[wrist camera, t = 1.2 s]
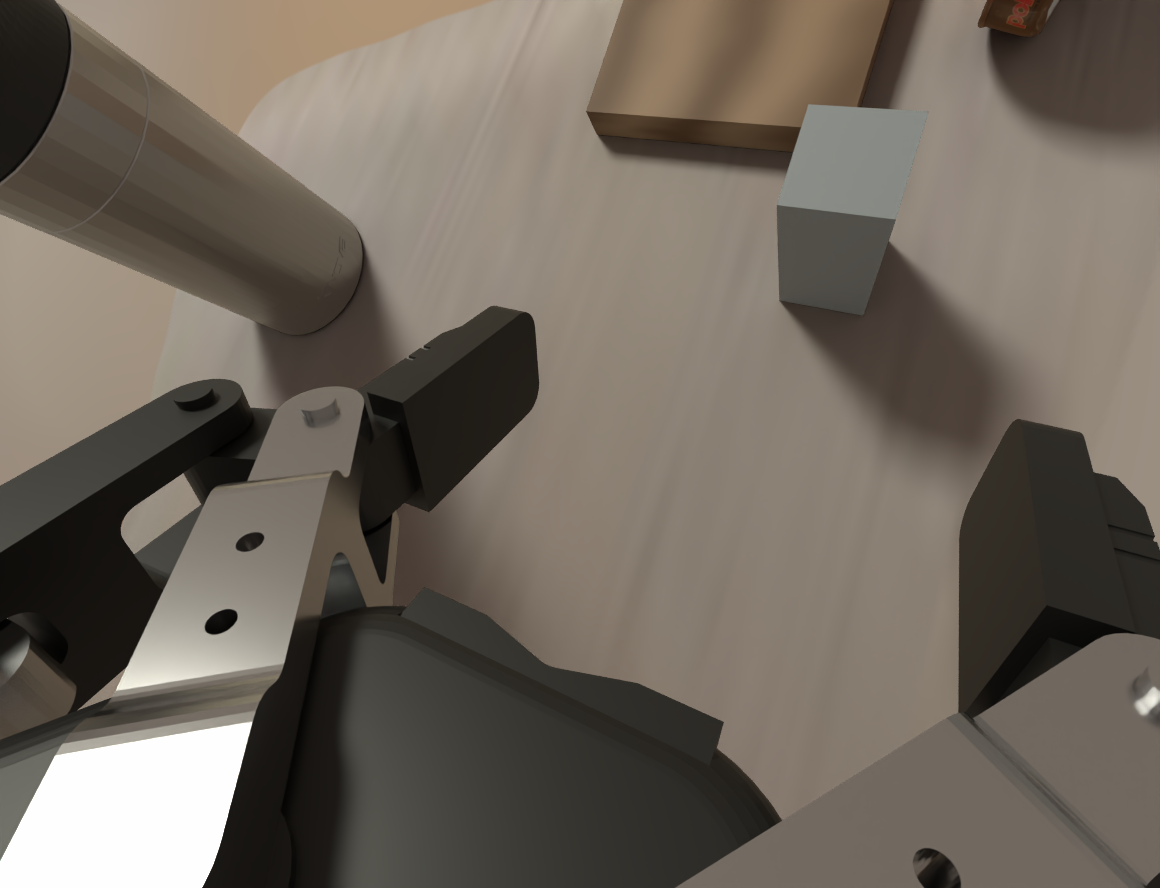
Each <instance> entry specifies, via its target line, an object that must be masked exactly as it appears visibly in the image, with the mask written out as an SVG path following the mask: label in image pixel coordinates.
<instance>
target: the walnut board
mask: <svg viewBox="0 0 1160 888" xmlns="http://www.w3.org/2000/svg"><path fill="white" fill-rule="evenodd" d="M893 1H894V0H624V1H623V4H622V7H621V10H620V13H619V16H618V19H617V21H616V24H615V27H614V30H613V33H612V36H611V39H610V42H609V45H608V48H607V51H606V54H605V57H604V60H603V63H602V66H601V69H600V72H599V75H598V78H597V81H596V84H595V87H594V90H593V93H592V96H591V99H590V102H589V105H588V108H587V111H586V112H587V114H588V116H589V118H590V121H591V123H592V125H593V127H594V129H595V131H596V134H597V135H608V136H620V137H631V138H642V139H653V140H664V141H676V142H687V143H698V144H709V145H720V146H731V147H743V148H754V149H765V150H776V151H787V152H794V149H795V145H796V142H797V139H798V136H799V133H800V130H801V126H802V123H803V120H804V117H805V114H806V111H807V107H808V104H811V105H828V106H845V107H861V104H862V101H863V98H864V95H865V92H866V88H867V85H868V82H869V79H870V75H871V72H872V69H873V66H874V62H875V59H876V56H877V53H878V50H879V46H880V43H881V40H882V37H883V33H884V30H885V27H886V24H887V21H888V17H889V14H890V11H891V8H892V4H893Z"/></svg>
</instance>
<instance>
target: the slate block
mask: <svg viewBox="0 0 1160 888" xmlns="http://www.w3.org/2000/svg"><path fill="white" fill-rule="evenodd" d="M927 115H928V111H912V110H895V109H878V108H861V107H845V106H828V105H811V104H808V107H807V111H806V114H805V117H804V120H803V123H802V126H801V130H800V133H799V136H798V139H797V142H796V145H795V149H794V152H793V155H792V158H791V161H790V165H789V168H788V171H787V174H786V177H785V180H784V184H783V187H782V190H781V193H780V196H779V199H778V203H777V232H778V267H779V301H785V302H790V303H796V304H801V305H807V306H812V307H818V308H824V309H829V310H835V311H840V312H846V313H851V314H857V315H862V316H863V315H864V312H865V309H866V306H867V304H868V301H869V298H870V295H871V292H872V289H873V286H874V283H875V280H876V277H877V274H878V271H879V268H880V265H881V262H882V259H883V256H884V253H885V250H886V247H887V244H888V241H889V238H890V235H891V232H892V230H893V227H894V224H895V221H896V217H897V214H898V211H899V208H900V204H901V201H902V198H903V194H904V191H905V188H906V184H907V181H908V178H909V175H910V171H911V168H912V165H913V161H914V158H915V155H916V151H917V148H918V145H919V142H920V138H921V135H922V132H923V128H924V125H925V122H926V118H927Z"/></svg>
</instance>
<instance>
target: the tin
mask: <svg viewBox="0 0 1160 888" xmlns="http://www.w3.org/2000/svg"><path fill="white" fill-rule="evenodd" d="M1059 1H1060V0H987V2H986V4H985V6H984V9H983V11H982V14H981V17H980V19H979V22H978V27H979V28H982V27H989V28H993V29H997V30H1000V31H1004V32H1008V33H1012V34H1015V35H1019V36H1025V37H1032V36H1035V35H1037V34H1039V33H1040V32H1041V30H1042V29H1043V27H1044V26H1045V24H1046V23H1047V21H1048V19H1049V18H1050V16H1051V14H1052V13H1053V11H1054V10H1055V8H1056V6H1057V5H1058V3H1059Z"/></svg>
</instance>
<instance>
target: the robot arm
mask: <svg viewBox="0 0 1160 888" xmlns="http://www.w3.org/2000/svg"><path fill="white" fill-rule="evenodd" d="M0 214H1V215H4V216H6V217H8V218H11V219H14V220H16V221H18V222H20V223H23V224H25V225H28V226H30V227H32V228H35V229H37V230H40V231H43V232H45V233H47V234H50V235H52V236H55V237H57V238H59V239H62V240H64V241H66V242H69V243H71V244H74V245H76V246H78V247H81V248H83V249H85V250H88V251H90V252H92V253H95V254H97V255H100V256H102V257H104V258H107V259H109V260H111V261H114V262H116V263H119V264H121V265H123V266H126V267H128V268H131V269H133V270H135V271H137V272H140V273H142V274H145V275H147V276H150V277H152V278H154V279H156V280H159V281H161V282H164V283H166V284H168V285H171V286H173V287H175V288H178V289H180V290H183V291H185V292H187V293H190V294H192V295H194V296H197V297H199V298H201V299H204V300H206V301H209V302H211V303H213V304H216V305H218V306H220V307H223V308H225V309H228V310H230V311H232V312H234V313H236V314H239V315H241V316H244V317H246V318H248V319H251V320H253V321H256V322H258V323H260V324H263V325H265V326H267V327H270V328H272V329H275V330H277V331H279V332H282V333H286V334H289V335H303V334H307V333H311V332H314V331H316V330H318V329H320V328H322V327H324V326H325V325H327V324H328V323H329V322H331V321H332V320H333V319H334V318H335V317H336V316H337V315H338V314H339V313H340V312H341V311H342V310H343V309H344V307H345V306H346V304H347V303H348V301H349V300H350V298H351V297H352V295H353V293H354V290H355V288H356V286H357V284H358V281H359V277H360V273H361V269H362V258H363V254H362V244H361V240H360V237H359V234H358V231H357V230H356V228H355V227H354V225H353V224H352V222H351V221H350V220H349V219H348V218H346V217H345V216H344V215H343V214H342V213H340V212H339V211H338V210H336V209H335V208H333V207H332V206H331V205H329V204H328V203H327V202H325V201H324V200H323V199H321V198H320V197H319V196H317V195H316V194H315V193H313V192H312V191H311V190H309V189H308V188H307V187H305V186H304V185H303V184H302V183H300V182H299V181H298V180H296V179H295V178H294V177H292V176H291V175H290V174H288V173H287V172H286V171H284V170H283V169H281V168H280V167H279V166H277V165H276V164H275V163H273V162H272V161H271V160H269V159H268V158H267V157H265V156H264V155H263V154H261V153H260V152H259V151H257V150H256V149H255V148H253V147H252V146H251V145H249V144H248V143H246V142H245V141H244V140H242V139H241V138H240V137H238V136H237V135H236V134H234V133H233V132H232V131H230V130H229V129H228V128H226V127H225V126H223V125H222V124H221V123H220V122H218V121H217V120H216V119H214V118H213V117H211V116H210V115H209V114H207V113H206V112H205V111H203V110H202V109H201V108H199V107H198V106H197V105H195V104H194V103H193V102H191V101H190V100H189V99H187V98H186V97H185V96H183V95H182V94H181V93H179V92H178V91H177V90H175V89H174V88H172V87H171V86H170V85H168V84H167V83H166V82H164V81H163V80H162V79H160V78H159V77H158V76H156V75H155V74H154V73H152V72H151V71H150V70H148V69H147V68H145V67H144V66H143V65H141V64H140V63H139V62H137V61H136V60H135V59H133V58H131V57H130V56H129V55H127V54H126V53H125V52H123V51H122V50H121V49H119V48H118V47H117V46H115V45H114V44H113V43H111V42H110V41H108V40H107V39H106V38H105V37H103V36H102V35H100V34H99V33H98V32H96V31H95V30H94V29H92V28H91V27H90V26H88V25H87V24H86V23H84V22H83V21H82V20H80V19H79V18H78V17H76V16H75V15H74V14H72V13H71V12H70V11H68V10H67V9H66V8H64V7H63V6H61V5H60V4H59V3H57V2H56V1H55V0H0ZM538 390H539V375H538V361H537V348H536V334H535V324H534V320H533V318H532V316H531V315H530V314H529V313H527V312H522V311H517V310H513V309H508V308H503V307H499V306H491V307H489V308H487V309H486V310H484V311H483V312H482V313H480V314H479V315H477V316H476V317H474V318H473V319H471V320H470V321H469V322H467V323H466V324H464V325H463V326H461V327H458V328H455V329H453V330H450V331H447V332H444V333H442V334H440V335H439V336H437V337H436V338H434V339H433V340H431V341H430V342H428V343H427V344H426V345H424V348H423V349H422V348H420V349H418V350H417V351H415V352H414V353H412V354H411V355H409V359H406V358H405V359H403V360H402V361H401V362H399V363H398V364H396V365H395V366H393V367H392V368H390V369H389V370H387V371H386V372H384V373H383V374H381V375H380V376H378V377H377V378H376V379H374V380H373V381H371V382H370V383H368V384H367V385H365V386H364V387H362V388H361V389H359V390H358V391H356V390H354V389H351V388H347V387H339V386H331V387H322V388H317V389H312V390H309V391H306V392H303V393H301V394H298V395H296V396H294V397H292V398H291V399H289V400H287V401H286V402H285V403H283V404H282V405H281V406H280V407H279V408H278V409H262V408H250V406H249V404H248V401H247V399H246V397H245V395H244V392H243V390H242V388H241V386H240V385H239V384H238V383H236V382H234V381H231V380H226V379H209V380H202V381H197V382H193V383H189V384H186V385H183V386H181V387H178V388H176V389H174V390H172V391H170V392H168V393H166V394H164V395H162V396H161V397H159V398H157V399H155V400H153V401H152V402H150V403H148V404H146V405H144V406H143V407H141V408H139V409H137V410H135V411H134V412H132V413H130V414H128V415H127V416H125V417H123V418H121V419H119V420H118V421H116V422H114V423H112V424H110V425H109V426H107V427H105V428H103V429H101V430H100V431H98V432H96V433H94V434H93V435H91V436H89V437H87V438H85V439H83V440H82V441H80V442H78V443H76V444H74V445H73V446H71V447H69V448H67V449H65V450H64V451H62V452H60V453H58V454H56V455H55V456H53V457H51V458H49V459H48V460H46V461H44V462H42V463H40V464H39V465H37V466H35V467H33V468H31V469H30V470H28V471H26V472H24V473H22V474H21V475H19V476H17V477H15V478H14V479H12V480H10V481H8V482H6V483H4V484H3V485H1V486H0V888H1160V550H1159V547H1158V544H1157V542H1154V541H1153V539H1154V537H1155V535H1154V532H1153V529H1152V527H1151V523H1150V521H1149V518H1148V515H1147V512H1146V509H1145V507H1144V506H1143V505H1142V504H1141V503H1140V502H1139V501H1138V500H1137V498H1136V497H1135V496H1133V494H1132V493H1131V492H1130V491H1129V490H1128V489H1127V488H1126V487H1125V486H1124V485H1123V484H1122V483H1121V482H1120V481H1119V480H1118V478H1115V477H1111V476H1107V475H1103V474H1098V473H1094V472H1093V469H1092V465H1091V461H1090V457H1089V454H1088V450H1087V446H1086V442H1085V439H1084V436H1083V434H1082V433H1080V432H1076V431H1072V430H1067V429H1062V428H1058V427H1053V426H1048V425H1044V424H1039V423H1034V422H1030V421H1025V420H1021V419H1017V420H1015V421H1014V422H1013V423H1012V424H1011V425H1010V426H1009V428H1008V429H1007V431H1006V433H1005V434H1004V436H1003V438H1002V440H1001V442H1000V444H999V446H998V447H997V449H996V451H995V453H994V455H993V457H992V459H991V461H990V462H989V464H988V466H987V468H986V470H985V472H984V474H983V476H982V477H981V479H980V481H979V483H978V485H977V487H976V489H975V491H974V492H973V494H972V496H971V498H970V500H969V503H968V505H967V507H966V510H965V513H964V516H963V520H962V524H961V529H960V537H959V708H958V713H956V714H954V715H952V716H950V717H948V718H946V719H944V720H943V721H941V722H939V723H938V724H936V725H934V726H933V727H931V728H930V729H928V730H926V731H925V732H923V733H922V734H920V735H918V736H917V737H915V738H914V739H912V740H910V741H909V742H907V743H906V744H904V745H902V746H901V747H899V748H898V749H896V750H894V751H893V752H891V753H890V754H888V755H886V756H885V757H883V758H882V759H880V760H878V761H877V762H875V763H874V764H872V765H870V766H869V767H867V768H866V769H864V770H862V771H861V772H859V773H858V774H856V775H854V776H853V777H851V778H850V779H848V780H846V781H845V782H843V783H842V784H840V785H838V786H837V787H835V788H834V789H832V790H830V791H829V792H827V793H826V794H824V795H823V796H821V797H819V798H818V799H816V800H815V801H813V802H811V803H810V804H808V805H807V806H805V807H803V808H802V809H800V810H799V811H797V812H795V813H794V814H792V815H791V816H789V817H787V818H786V819H784V820H783V821H782V820H781V818H780V817H779V815H778V813H777V812H776V810H775V809H774V807H773V806H772V804H771V803H770V802H769V800H768V799H767V798H766V797H765V795H764V794H763V793H762V792H761V791H760V789H759V788H758V787H757V786H756V784H755V783H754V782H753V781H752V780H751V779H750V778H749V777H748V776H747V775H746V774H745V773H744V772H743V771H742V770H741V769H740V768H739V767H738V766H737V765H736V764H735V763H734V762H733V761H732V760H730V759H729V758H728V757H727V756H726V755H724V754H723V753H722V752H721V751H719V750H718V749H717V745H718V742H719V738H720V734H721V730H722V726H723V723H724V722H722V721H720V720H718V719H716V718H713V717H711V716H709V715H707V714H705V713H702V712H700V711H698V710H696V709H693V708H691V707H689V706H687V705H685V704H682V703H680V702H678V701H676V700H674V699H671V698H669V697H667V696H665V695H662V694H660V693H658V692H656V691H654V690H651V689H649V688H647V687H645V686H642V685H640V684H638V683H633V682H628V681H623V680H617V679H612V678H607V677H601V676H596V675H591V674H585V673H580V672H575V671H569V670H564V669H559V668H554V667H551V666H548V665H546V664H544V663H543V662H541V661H540V660H539V659H538V658H536V657H535V656H534V655H533V654H532V653H531V652H529V651H528V650H527V649H526V648H525V647H524V646H522V645H521V644H520V643H519V642H518V641H516V640H515V639H514V638H513V637H512V636H511V635H509V634H508V633H507V632H506V631H505V630H504V629H502V628H501V627H500V626H499V625H498V624H497V623H495V622H494V621H493V620H492V619H491V618H489V617H488V616H487V615H485V614H483V613H481V612H478V611H476V610H474V609H472V608H470V607H467V606H465V605H463V604H461V603H459V602H456V601H454V600H452V599H450V598H447V597H445V596H443V595H441V594H439V593H436V592H434V591H432V590H430V589H428V588H425V587H424V589H423V590H422V591H421V592H420V593H419V594H418V595H417V596H416V598H415V599H414V600H413V601H412V602H411V603H410V604H409V605H408V607H403V606H393V589H394V578H395V567H396V556H397V545H398V535H399V517H398V514H397V509H398V508H399V507H400V506H401V505H402V504H403V503H407V504H410V505H412V506H415V507H417V508H420V509H422V510H425V511H427V512H430V511H431V510H432V509H433V508H434V507H435V506H436V505H437V504H438V503H439V502H440V501H441V500H442V499H443V498H444V497H445V496H446V495H447V494H448V493H449V492H450V491H451V490H452V489H453V488H454V487H455V486H456V485H457V484H458V483H459V482H460V481H461V480H462V479H463V478H464V477H465V476H466V475H467V474H468V473H469V472H470V471H471V470H472V469H473V468H474V467H475V466H476V465H477V464H478V463H479V462H480V461H481V460H482V459H483V458H484V457H485V456H486V455H487V454H488V453H489V452H490V451H491V450H492V449H493V448H494V447H495V446H496V445H497V444H498V443H499V442H500V441H501V440H502V439H503V438H504V437H505V436H506V435H507V434H508V433H509V432H510V431H511V430H512V429H513V428H514V427H515V426H516V425H517V424H518V423H519V422H520V421H521V420H522V419H523V418H524V417H525V416H526V415H527V414H528V413H529V412H530V411H531V409H532V408H533V406H534V404H535V401H536V399H537V395H538ZM182 473H184V475H185V477H186V478H187V480H188V482H189V484H190V485H191V487H192V489H193V491H194V492H195V494H196V496H197V498H198V499H199V501H200V503H201V505H200V506H199V507H198V508H196V509H195V510H193V511H192V512H191V513H189V514H188V515H187V516H185V517H184V518H183V519H181V520H180V521H179V522H177V523H176V524H175V525H173V526H172V527H171V528H169V529H168V530H167V531H165V532H164V533H163V534H161V535H160V536H158V537H157V538H156V539H154V540H153V541H152V542H150V543H149V544H148V545H146V546H145V547H144V548H142V549H141V550H140V551H138V552H137V553H136V554H133V552H132V551H131V550H130V548H129V547H128V546H127V544H126V543H125V541H124V540H123V538H122V536H121V524H122V521H123V519H124V517H125V515H126V514H127V513H128V512H129V511H130V510H131V509H132V508H133V507H134V506H135V505H137V504H138V503H140V502H141V501H143V500H144V499H146V498H147V497H149V496H150V495H152V494H153V493H155V492H156V491H157V490H159V489H160V488H162V487H163V486H165V485H166V484H168V483H169V482H171V481H172V480H174V479H175V478H177V477H178V476H180V475H181V474H182ZM7 618H8V619H7ZM126 667H127V668H126ZM125 668H126V670H125V672H124V674H123V677H122V679H121V681H120V683H119V685H118V687H117V689H116V691H115V693H114V695H113V697H112V698H109V699H107V700H104V701H101V702H99V703H96V704H93V705H91V706H88V707H85V708H83V709H80V710H78V709H79V708H80V707H82V706H83V705H84V704H85V703H86V702H87V701H88V700H89V699H91V698H92V697H93V696H94V695H95V694H96V693H97V692H99V691H100V690H101V689H102V688H103V687H104V686H105V685H107V684H108V683H109V682H110V681H111V680H112V679H113V678H115V677H116V676H117V675H118V674H119V673H120V672H121V671H122V670H124V669H125Z"/></svg>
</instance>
